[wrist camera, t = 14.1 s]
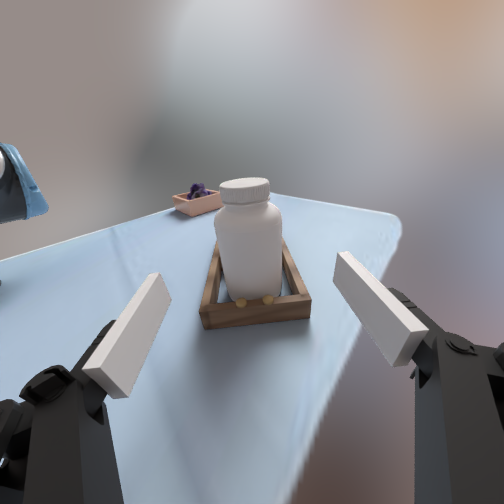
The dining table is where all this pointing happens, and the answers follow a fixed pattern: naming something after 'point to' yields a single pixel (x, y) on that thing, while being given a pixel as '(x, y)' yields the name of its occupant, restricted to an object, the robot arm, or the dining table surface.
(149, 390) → the dining table surface
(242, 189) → the pill bottle
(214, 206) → the flower planter
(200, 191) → the flower
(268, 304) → the slot rack
